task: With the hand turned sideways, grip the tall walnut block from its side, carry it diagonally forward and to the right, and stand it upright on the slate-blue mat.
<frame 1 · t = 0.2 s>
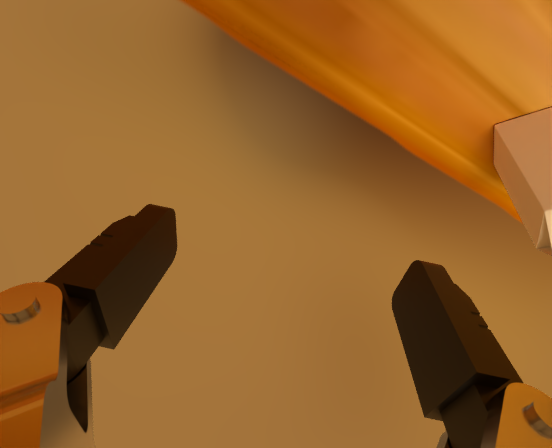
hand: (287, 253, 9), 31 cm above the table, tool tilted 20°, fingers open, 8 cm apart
milk carton: (525, 134, 35), on the table
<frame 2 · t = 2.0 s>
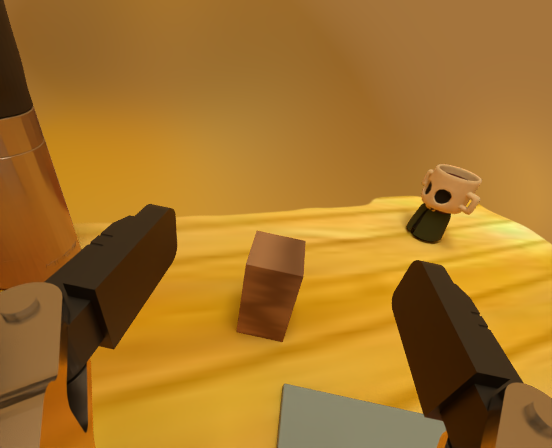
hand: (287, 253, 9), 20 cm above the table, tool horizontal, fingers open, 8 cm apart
walnut block: (263, 317, 30), on the table
character mug: (421, 234, 52), on the table
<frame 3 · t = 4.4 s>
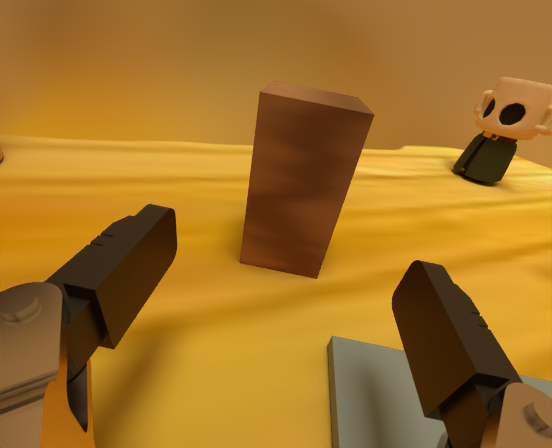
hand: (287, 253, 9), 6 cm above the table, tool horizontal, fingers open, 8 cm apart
walnut block: (282, 246, 19), on the table
character mug: (472, 178, 40), on the table
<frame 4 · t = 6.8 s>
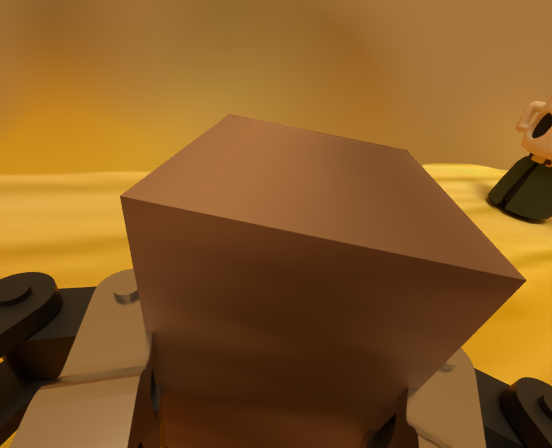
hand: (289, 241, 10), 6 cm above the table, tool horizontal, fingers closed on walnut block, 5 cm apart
walnut block: (257, 394, 11), on the table, touching gripper
character mug: (512, 211, 32), on the table
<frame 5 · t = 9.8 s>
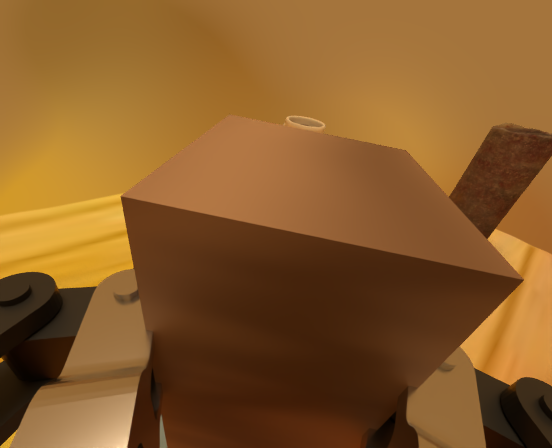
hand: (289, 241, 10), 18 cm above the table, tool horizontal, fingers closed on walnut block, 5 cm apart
walnut block: (256, 394, 11), point 12 cm above the table, touching gripper
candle: (444, 250, 44), on the table
character mug: (291, 188, 54), on the table
when the fingers open (8 cm above the table, at t = 12.8 s): walnut block stays where it is, resting on slate-blue mat.
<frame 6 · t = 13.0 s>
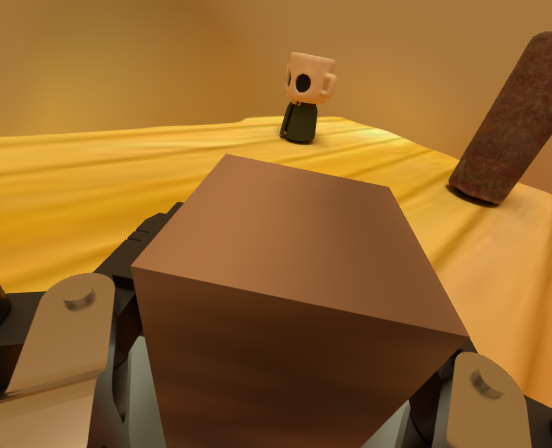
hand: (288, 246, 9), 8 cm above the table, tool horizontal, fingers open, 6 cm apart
slate-blue mat: (251, 414, 12), on the table
walnut block: (253, 406, 11), point 1 cm above the table, touching slate-blue mat
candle: (470, 196, 39), on the table
character mug: (296, 140, 49), on the table
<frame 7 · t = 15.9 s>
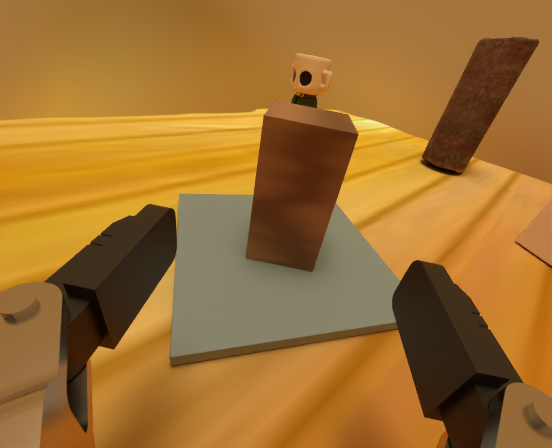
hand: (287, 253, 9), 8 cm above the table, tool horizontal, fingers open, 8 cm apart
slate-blue mat: (280, 252, 22), on the table
walnut block: (282, 244, 21), point 1 cm above the table, touching slate-blue mat
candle: (439, 168, 49), on the table
character mug: (299, 126, 59), on the table
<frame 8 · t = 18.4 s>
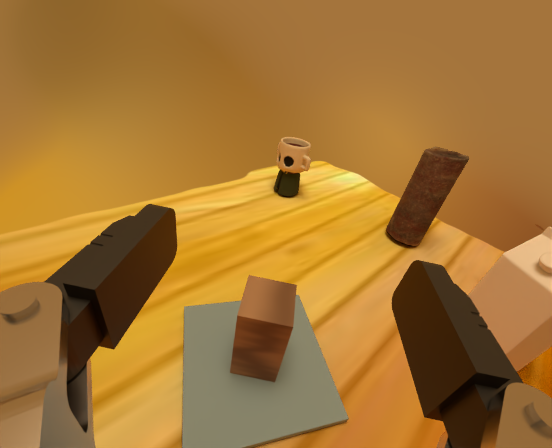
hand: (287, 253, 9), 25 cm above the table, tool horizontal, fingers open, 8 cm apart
slate-blue mat: (255, 359, 31), on the table
walnut block: (256, 355, 31), point 1 cm above the table, touching slate-blue mat
milk carton: (474, 350, 38), on the table
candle: (400, 239, 59), on the table
character mug: (285, 192, 68), on the table
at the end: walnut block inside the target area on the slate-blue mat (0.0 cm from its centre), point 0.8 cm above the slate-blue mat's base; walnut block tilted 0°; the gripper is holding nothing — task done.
